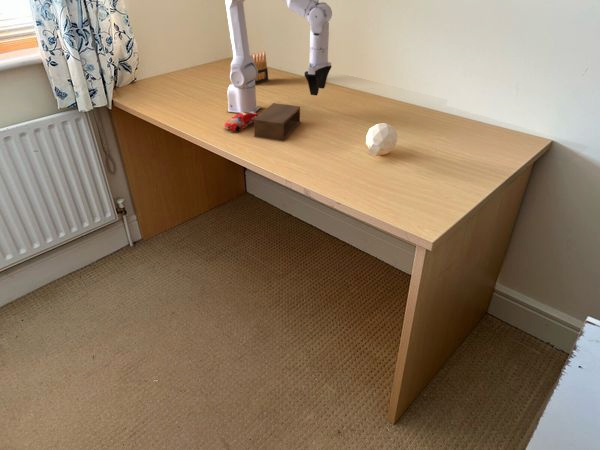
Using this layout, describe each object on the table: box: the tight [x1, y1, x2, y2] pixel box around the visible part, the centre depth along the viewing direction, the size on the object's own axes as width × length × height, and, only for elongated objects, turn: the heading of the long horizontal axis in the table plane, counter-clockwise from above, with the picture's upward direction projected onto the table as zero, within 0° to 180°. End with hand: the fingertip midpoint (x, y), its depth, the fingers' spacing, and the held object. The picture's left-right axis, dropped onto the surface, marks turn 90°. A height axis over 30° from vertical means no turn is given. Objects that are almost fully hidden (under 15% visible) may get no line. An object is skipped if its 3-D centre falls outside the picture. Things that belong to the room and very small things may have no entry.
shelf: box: [253, 102, 301, 142], centre depth 139 cm, size 10×16×6 cm, turn 160°
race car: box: [224, 112, 259, 133], centre depth 141 cm, size 13×5×4 cm, turn 140°
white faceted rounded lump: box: [365, 122, 398, 158], centre depth 123 cm, size 9×9×12 cm
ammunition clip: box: [250, 50, 269, 85], centre depth 179 cm, size 11×2×12 cm, turn 137°
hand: (317, 91), depth 141 cm, fingers open, 7 cm apart
